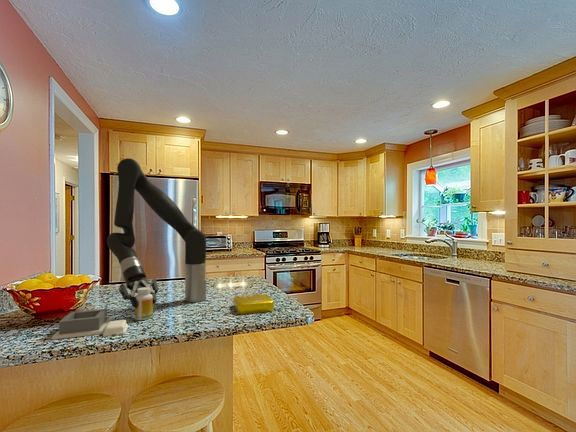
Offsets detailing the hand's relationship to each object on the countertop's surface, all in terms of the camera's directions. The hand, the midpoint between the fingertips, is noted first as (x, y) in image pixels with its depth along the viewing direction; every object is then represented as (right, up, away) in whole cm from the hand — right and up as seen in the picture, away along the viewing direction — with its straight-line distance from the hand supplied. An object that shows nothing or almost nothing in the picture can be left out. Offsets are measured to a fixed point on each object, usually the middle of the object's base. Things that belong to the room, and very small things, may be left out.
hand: (145, 304), depth 114 cm
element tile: (+40, -6, +14) cm, 42 cm away
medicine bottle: (-38, -6, +14) cm, 41 cm away
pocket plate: (-16, -5, -11) cm, 20 cm away
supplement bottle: (-1, -6, +1) cm, 6 cm away
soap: (-4, -6, -12) cm, 14 cm away
